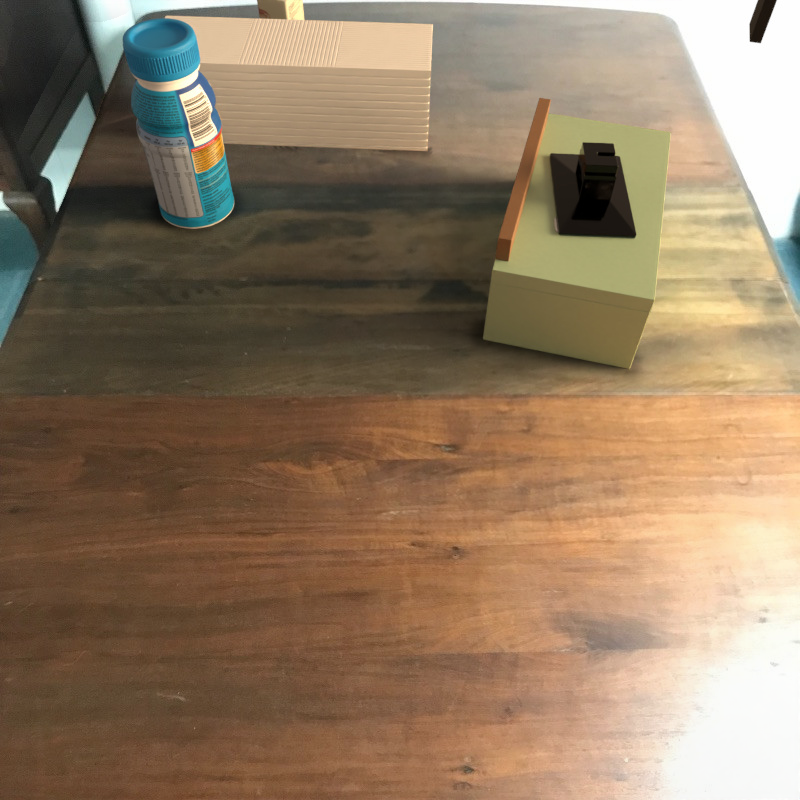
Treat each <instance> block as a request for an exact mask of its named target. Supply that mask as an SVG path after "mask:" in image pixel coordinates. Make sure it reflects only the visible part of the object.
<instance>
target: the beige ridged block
mask: <svg viewBox="0 0 800 800" xmlns="http://www.w3.org/2000/svg"><path fill="white" fill-rule="evenodd" d="M164 18H169V19H176V20H180V21H183V22H185V23H187V24H189V25H190V26H191V27H192V28H193V30H194V32H195V35H196V38H197V43H198V48H199V54H200V67H199V71H200V72H201V73H202V74H203V75H204V77H205V78H206V79H207V81H208V82H209V84H210V85H211V87H212V89H213V91H214V94H215V98H216V103H215V108H216V110H217V111H218V113H219V115H220V119H221V123H222V137H223V143H224V145H225V144H228V145H256V146H278V147H280V146H281V147H309V148H330V149H331V148H333V149H335V148H336V149H358V150H359V149H365V150H389V151H411V152H412V151H414V152H415V151H417V152H428V149H429V147H428V146H429V128H430V107H431V106H430V104H431V103H430V102H431V81H432V80H431V79H432V55H433V54H432V53H433V32H434V24H433V23H410V22H409V23H408V22H381V21H380V22H377V21H348V20H347V21H345V20H318V19H316V20H315V19H304V20H288V19H260V18H255V17H253V18H252V17H228V16H227V17H226V16H225V17H224V16H221V17H219V16H191V15H165V17H164Z"/></svg>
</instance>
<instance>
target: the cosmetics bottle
mask: <svg viewBox="0 0 800 800" xmlns="http://www.w3.org/2000/svg"><path fill="white" fill-rule="evenodd" d="M256 4H257V11H258V16H259V19H288V20H305V12H304V1H303V0H256Z"/></svg>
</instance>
